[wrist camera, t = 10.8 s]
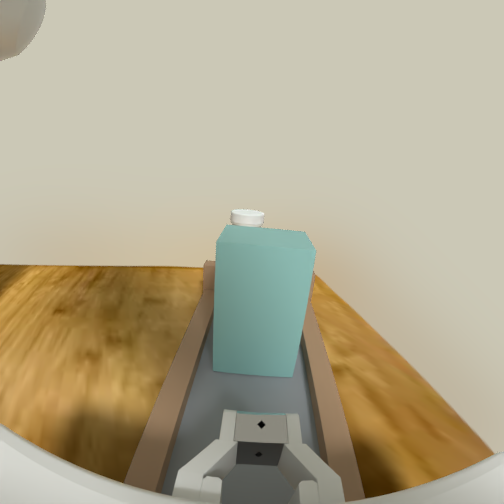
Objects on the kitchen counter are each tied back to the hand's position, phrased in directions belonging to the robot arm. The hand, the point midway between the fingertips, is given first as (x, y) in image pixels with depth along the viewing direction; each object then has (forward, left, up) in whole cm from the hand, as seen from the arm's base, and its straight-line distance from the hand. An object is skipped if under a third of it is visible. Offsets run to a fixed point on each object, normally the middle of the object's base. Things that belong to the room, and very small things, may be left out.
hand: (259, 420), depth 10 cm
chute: (0, +7, -6) cm, 9 cm away
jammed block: (0, +11, -6) cm, 13 cm away
